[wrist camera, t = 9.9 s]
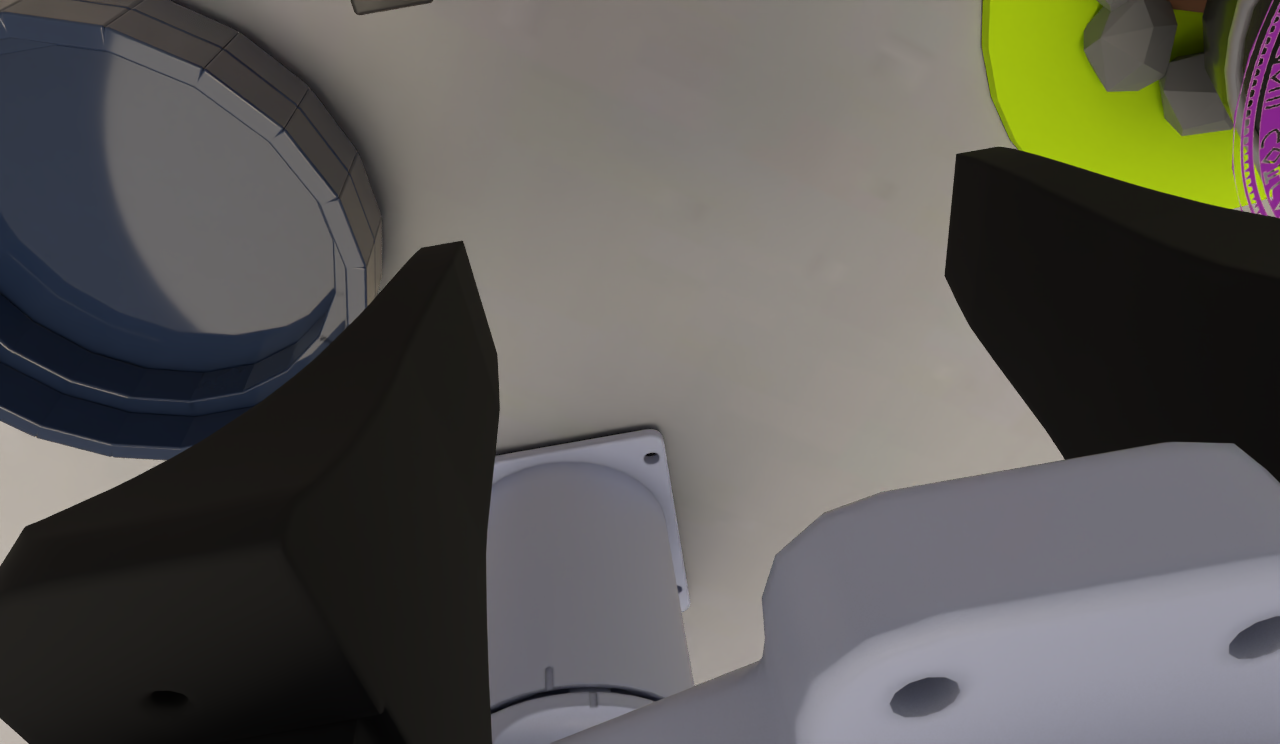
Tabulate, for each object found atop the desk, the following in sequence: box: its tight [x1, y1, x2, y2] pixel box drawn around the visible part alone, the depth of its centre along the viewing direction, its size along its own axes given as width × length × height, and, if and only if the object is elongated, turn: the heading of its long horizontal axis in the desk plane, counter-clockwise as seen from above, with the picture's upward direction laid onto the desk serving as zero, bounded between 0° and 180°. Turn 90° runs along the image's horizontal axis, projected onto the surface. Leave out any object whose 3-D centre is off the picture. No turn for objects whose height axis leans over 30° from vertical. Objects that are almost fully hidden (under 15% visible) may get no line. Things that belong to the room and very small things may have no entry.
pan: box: [0, 0, 382, 460], centre depth 21 cm, size 11×11×3 cm
